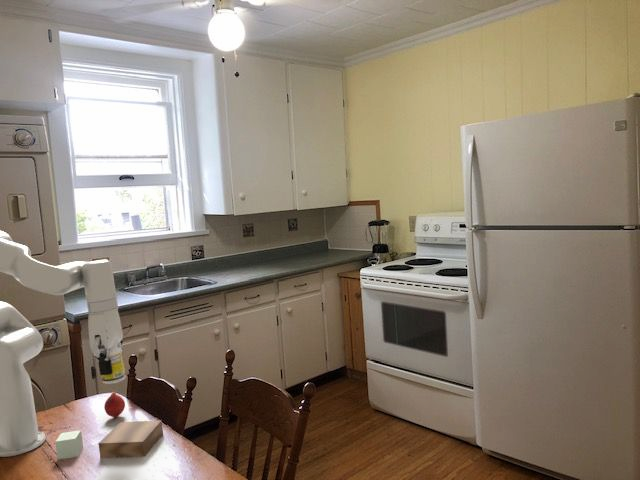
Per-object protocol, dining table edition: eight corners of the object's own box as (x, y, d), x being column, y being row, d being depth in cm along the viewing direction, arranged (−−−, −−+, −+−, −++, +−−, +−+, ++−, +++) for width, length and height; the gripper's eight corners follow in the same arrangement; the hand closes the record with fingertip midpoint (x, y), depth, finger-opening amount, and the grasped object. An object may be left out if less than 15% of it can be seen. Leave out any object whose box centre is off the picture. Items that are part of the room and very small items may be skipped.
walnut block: (100, 457, 134) (98, 443, 133) (122, 435, 146) (120, 422, 145) (144, 456, 133) (142, 441, 132) (163, 434, 144) (161, 420, 144)
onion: (119, 422, 155) (115, 396, 154) (102, 421, 156) (98, 396, 155) (129, 413, 161) (126, 388, 160) (113, 413, 162) (110, 388, 161)
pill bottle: (109, 376, 145) (103, 338, 144) (130, 375, 145) (124, 337, 143) (97, 385, 139) (91, 345, 138) (119, 384, 138) (113, 344, 137)
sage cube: (57, 459, 135) (55, 441, 135) (63, 450, 140) (61, 432, 139) (77, 456, 136) (75, 438, 135) (83, 447, 141) (81, 430, 140)
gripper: (104, 300, 149) (114, 360, 150) (72, 315, 131) (83, 383, 133) (130, 297, 148) (139, 358, 150) (100, 312, 131) (111, 380, 133)
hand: (112, 369), depth 142 cm, fingers closed on pill bottle, 6 cm apart
